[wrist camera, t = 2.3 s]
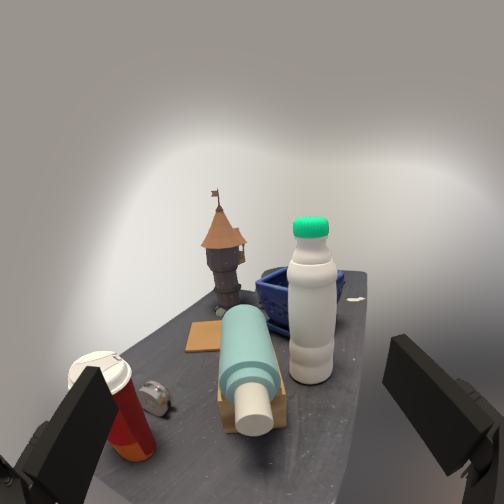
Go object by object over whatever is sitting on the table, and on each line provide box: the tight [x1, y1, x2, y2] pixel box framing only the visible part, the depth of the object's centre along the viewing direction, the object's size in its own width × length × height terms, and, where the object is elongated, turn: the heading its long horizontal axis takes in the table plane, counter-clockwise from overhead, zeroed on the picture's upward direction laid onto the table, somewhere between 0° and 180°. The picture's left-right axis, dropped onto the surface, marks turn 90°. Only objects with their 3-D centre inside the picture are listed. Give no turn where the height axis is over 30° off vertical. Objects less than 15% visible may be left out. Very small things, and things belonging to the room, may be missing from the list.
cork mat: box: [185, 320, 222, 353], centre depth 56 cm, size 12×12×1 cm
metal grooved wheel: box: [136, 381, 173, 416], centre depth 33 cm, size 5×3×5 cm, turn 71°
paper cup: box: [68, 351, 156, 462], centre depth 24 cm, size 8×8×14 cm
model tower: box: [201, 190, 247, 317], centre depth 65 cm, size 10×11×30 cm
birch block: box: [218, 347, 286, 433], centre depth 34 cm, size 8×11×8 cm
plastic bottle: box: [219, 304, 281, 436], centre depth 30 cm, size 20×7×7 cm, turn 4°
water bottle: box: [287, 217, 338, 384], centre depth 38 cm, size 7×7×25 cm
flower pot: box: [256, 266, 344, 337], centre depth 54 cm, size 13×13×12 cm
